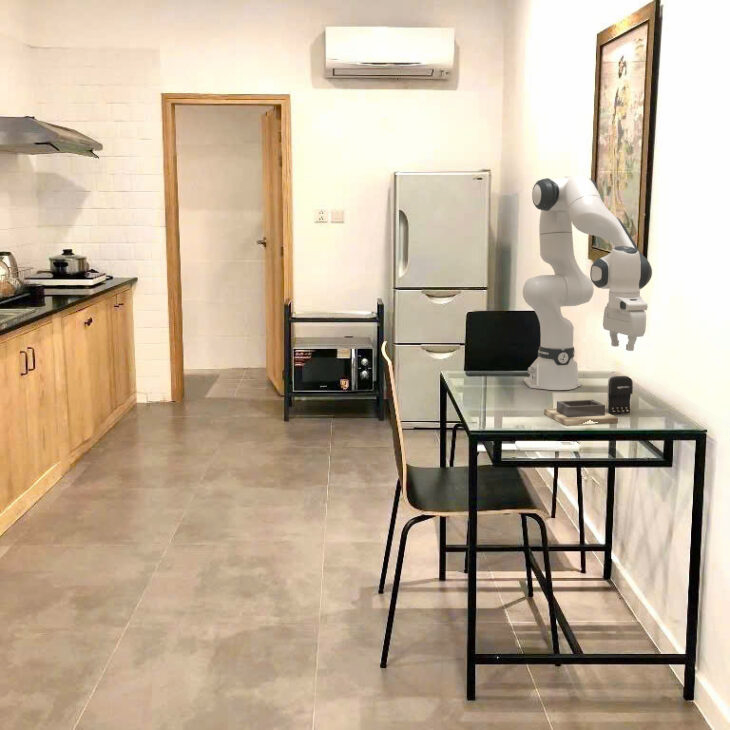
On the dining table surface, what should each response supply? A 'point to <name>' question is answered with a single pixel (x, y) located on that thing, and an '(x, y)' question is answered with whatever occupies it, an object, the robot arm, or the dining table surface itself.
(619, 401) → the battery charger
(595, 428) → the dining table surface
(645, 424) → the dining table surface
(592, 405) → the dock
